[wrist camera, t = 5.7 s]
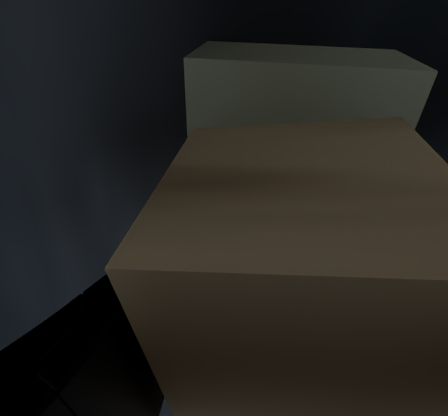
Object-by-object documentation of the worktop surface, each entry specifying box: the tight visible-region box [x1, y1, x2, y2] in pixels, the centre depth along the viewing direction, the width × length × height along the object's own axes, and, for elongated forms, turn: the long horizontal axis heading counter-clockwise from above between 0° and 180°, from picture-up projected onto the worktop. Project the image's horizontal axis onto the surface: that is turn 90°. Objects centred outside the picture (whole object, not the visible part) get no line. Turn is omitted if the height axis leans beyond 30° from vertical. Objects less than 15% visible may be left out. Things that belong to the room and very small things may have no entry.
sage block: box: [184, 41, 438, 138], centre depth 12 cm, size 7×7×4 cm
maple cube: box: [104, 117, 448, 416], centre depth 7 cm, size 5×5×5 cm
